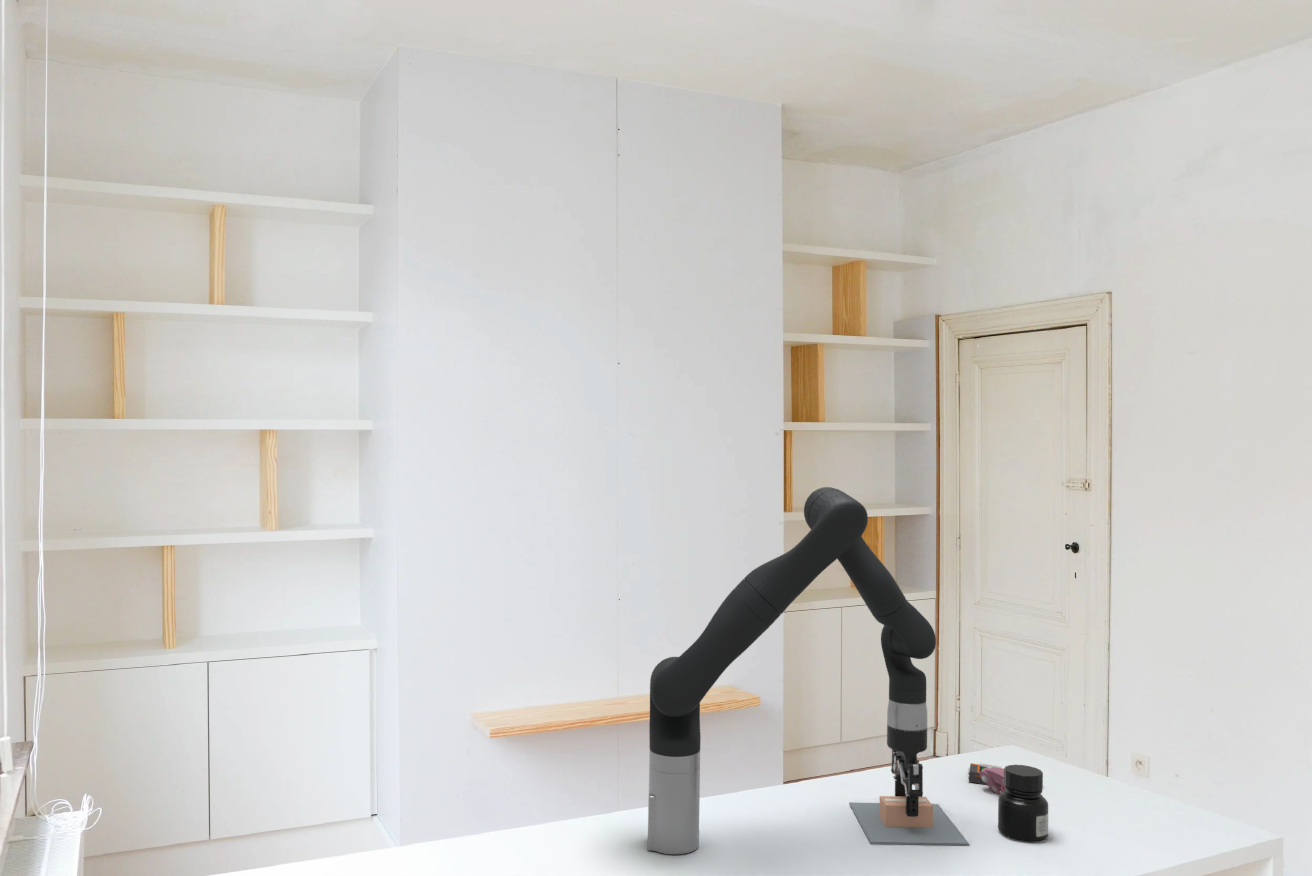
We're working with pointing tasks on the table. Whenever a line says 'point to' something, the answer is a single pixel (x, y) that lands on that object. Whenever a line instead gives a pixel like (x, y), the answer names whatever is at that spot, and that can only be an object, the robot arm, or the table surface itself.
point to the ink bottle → (1023, 805)
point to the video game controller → (993, 778)
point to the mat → (907, 828)
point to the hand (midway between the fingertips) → (906, 807)
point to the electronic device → (975, 770)
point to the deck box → (904, 812)
